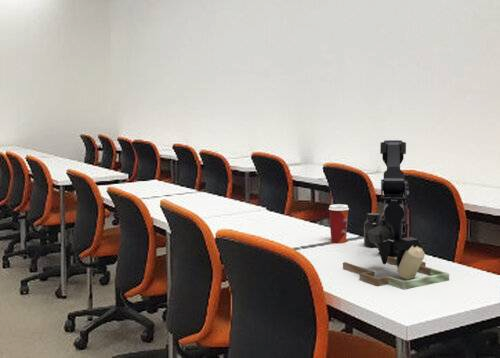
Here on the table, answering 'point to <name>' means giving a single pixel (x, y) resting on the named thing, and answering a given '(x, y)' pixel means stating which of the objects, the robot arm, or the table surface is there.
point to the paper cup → (338, 222)
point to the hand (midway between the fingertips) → (391, 266)
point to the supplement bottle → (371, 227)
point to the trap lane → (370, 278)
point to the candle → (411, 262)
